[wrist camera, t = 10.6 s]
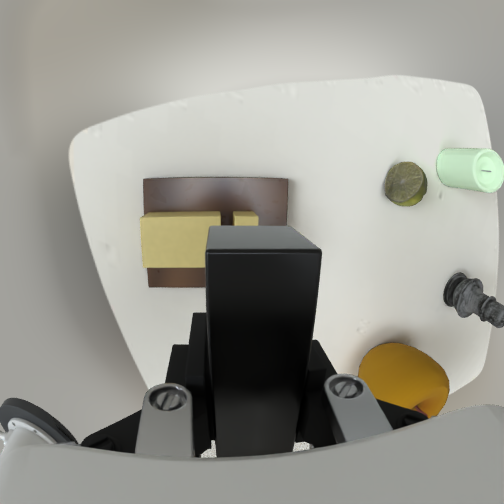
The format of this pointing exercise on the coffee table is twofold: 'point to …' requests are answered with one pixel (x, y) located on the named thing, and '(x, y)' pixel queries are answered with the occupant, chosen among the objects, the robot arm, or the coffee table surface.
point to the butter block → (176, 238)
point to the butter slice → (245, 218)
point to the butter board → (212, 199)
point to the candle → (471, 169)
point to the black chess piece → (473, 300)
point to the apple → (405, 378)
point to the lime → (405, 184)
